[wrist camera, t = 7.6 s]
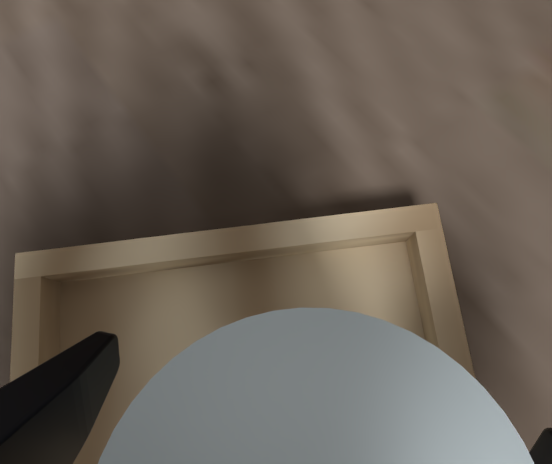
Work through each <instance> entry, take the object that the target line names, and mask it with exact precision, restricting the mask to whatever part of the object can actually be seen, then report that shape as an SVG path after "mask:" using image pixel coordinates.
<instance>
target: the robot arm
mask: <svg viewBox="0 0 552 464" xmlns="http://www.w3.org/2000/svg"><path fill="white" fill-rule="evenodd" d="M119 365H120V355H119V342H118V337H117V335H116V334H113V333H108V332H104V331H98V332H95V333H93V334H91V335H90V336H88V337H86V338H85V339H83V340H81V341H80V342H78V343H76V344H74V345H73V346H71V347H69V348H68V349H66V350H64V351H63V352H61V353H59V354H57V355H56V356H54V357H52V358H51V359H49V360H47V361H45V362H44V363H42V364H40V365H39V366H37V367H35V368H34V369H32V370H30V371H28V372H27V373H25V374H23V375H22V376H20V377H18V378H16V379H15V380H13V381H11V382H10V383H8V384H6V385H5V386H3V387H1V388H0V464H73V463H74V461H75V459H76V458H77V456H78V454H79V452H80V451H81V449H82V447H83V445H84V444H85V442H86V440H87V438H88V436H89V434H90V432H91V430H92V428H93V426H94V423H95V421H96V419H97V417H98V415H99V412H100V410H101V408H102V406H103V403H104V401H105V399H106V397H107V394H108V392H109V390H110V388H111V386H112V383H113V381H114V379H115V377H116V374H117V372H118V369H119ZM529 454H530V456H531V458H532V460H533V462H534V464H552V428H546V429H544V430H543V432H542V433H541V435H540V436H539V438H538V439H537V441H536V442H535V444H534V446H533V447H532V449H531V450H530V452H529Z"/></svg>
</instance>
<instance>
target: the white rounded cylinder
mask: <svg viewBox="0 0 552 464" xmlns="http://www.w3.org/2000/svg"><path fill="white" fill-rule="evenodd" d="M98 464H534V462H533V460H532V458H531V456H530V454H529V452H528V450H527V448H526V446H525V444H524V442H523V440H522V439H521V437H520V436H519V434H518V432H517V431H516V429H515V428H514V426H513V425H512V423H511V422H510V420H509V418H508V417H507V415H506V414H505V412H504V411H503V410H502V409H501V408H500V406H499V405H498V404H497V403H496V401H495V400H494V399H493V398H492V397H491V395H490V394H489V393H488V392H487V390H486V389H485V388H484V387H483V386H482V385H481V384H480V383H479V382H478V381H477V380H476V379H475V378H474V377H473V376H472V375H471V374H470V373H469V372H468V371H466V370H465V369H464V368H463V367H462V366H461V365H460V364H459V363H457V362H456V361H455V360H453V359H452V358H451V357H449V356H448V355H447V354H446V353H444V352H443V351H442V350H440V349H439V348H438V347H436V346H435V345H433V344H431V343H429V342H428V341H426V340H424V339H423V338H421V337H419V336H417V335H416V334H414V333H412V332H410V331H408V330H406V329H404V328H401V327H399V326H397V325H394V324H392V323H390V322H387V321H385V320H382V319H378V318H375V317H371V316H368V315H364V314H361V313H357V312H352V311H345V310H338V309H332V308H292V309H283V310H275V311H270V312H266V313H262V314H258V315H254V316H250V317H246V318H244V319H241V320H239V321H236V322H234V323H231V324H228V325H226V326H223V327H221V328H219V329H217V330H215V331H214V332H212V333H210V334H208V335H206V336H204V337H203V338H201V339H199V340H197V341H196V342H194V343H193V344H191V345H190V346H189V347H187V348H186V349H185V350H183V351H182V352H181V353H179V354H178V355H176V356H175V357H174V358H172V359H171V360H170V361H169V362H168V363H167V364H166V365H165V366H164V367H163V368H162V369H161V370H160V371H159V372H158V373H156V374H155V375H154V376H153V377H152V378H151V379H150V380H149V382H148V383H147V384H146V385H145V386H144V388H143V389H142V390H141V391H140V392H139V394H138V395H137V396H136V397H135V399H134V400H133V401H132V402H131V404H130V405H129V407H128V408H127V410H126V411H125V413H124V414H123V416H122V418H121V419H120V421H119V422H118V424H117V425H116V427H115V428H114V430H113V432H112V434H111V436H110V438H109V440H108V442H107V444H106V447H105V449H104V451H103V453H102V455H101V457H100V459H99V462H98Z"/></svg>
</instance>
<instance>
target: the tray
mask: <svg viewBox="0 0 552 464" xmlns="http://www.w3.org/2000/svg"><path fill="white" fill-rule="evenodd" d="M292 308H332V309H338V310H345V311H352V312H357V313H361V314H364V315H368V316H371V317H375V318H378V319H382V320H385V321H387V322H390V323H392V324H394V325H397V326H399V327H401V328H404V329H406V330H408V331H410V332H412V333H414V334H416V335H417V336H419V337H421V338H423V339H424V340H426V341H428V342H429V343H431V344H433V345H435V346H436V347H438V348H439V349H440V350H442V351H443V352H444V353H446V354H447V355H448V356H449V357H451V358H452V359H453V360H455V361H456V362H457V363H459V364H460V365H461V366H462V367H463V368H464V369H465V370H466V371H468V372H469V373H470V374H471V375H472V376H473V377H474V378H475V374H474V370H473V365H472V360H471V356H470V351H469V347H468V342H467V338H466V333H465V329H464V324H463V320H462V315H461V310H460V306H459V301H458V297H457V292H456V288H455V283H454V279H453V274H452V270H451V265H450V260H449V256H448V251H447V247H446V242H445V238H444V233H443V229H442V224H441V220H440V215H439V210H438V206H437V203H431V204H423V205H414V206H406V207H398V208H389V209H381V210H373V211H364V212H356V213H348V214H339V215H331V216H322V217H314V218H306V219H297V220H289V221H281V222H272V223H264V224H256V225H247V226H239V227H231V228H222V229H214V230H206V231H197V232H189V233H180V234H172V235H164V236H155V237H147V238H139V239H130V240H122V241H114V242H105V243H97V244H89V245H80V246H72V247H64V248H55V249H47V250H38V251H30V252H22V253H15V271H14V294H13V318H12V342H11V365H10V382H11V381H13V380H15V379H16V378H18V377H20V376H22V375H23V374H25V373H27V372H28V371H30V370H32V369H34V368H35V367H37V366H39V365H40V364H42V363H44V362H45V361H47V360H49V359H51V358H52V357H54V356H56V355H57V354H59V353H61V352H63V351H64V350H66V349H68V348H69V347H71V346H73V345H74V344H76V343H78V342H80V341H81V340H83V339H85V338H86V337H88V336H90V335H91V334H93V333H95V332H98V331H104V332H108V333H113V334H116V335H117V337H118V342H119V355H120V365H119V369H118V372H117V374H116V377H115V379H114V381H113V383H112V386H111V388H110V390H109V392H108V394H107V397H106V399H105V401H104V403H103V406H102V408H101V410H100V412H99V415H98V417H97V419H96V421H95V423H94V426H93V428H92V430H91V432H90V434H89V436H88V438H87V440H86V442H85V444H84V445H83V447H82V449H81V451H80V452H79V454H78V456H77V458H76V459H75V461H74V463H73V464H98V462H99V459H100V457H101V455H102V453H103V451H104V449H105V447H106V444H107V442H108V440H109V438H110V436H111V434H112V432H113V430H114V428H115V427H116V425H117V424H118V422H119V421H120V419H121V418H122V416H123V414H124V413H125V411H126V410H127V408H128V407H129V405H130V404H131V402H132V401H133V400H134V399H135V397H136V396H137V395H138V394H139V392H140V391H141V390H142V389H143V388H144V386H145V385H146V384H147V383H148V382H149V380H150V379H151V378H152V377H153V376H154V375H155V374H156V373H158V372H159V371H160V370H161V369H162V368H163V367H164V366H165V365H166V364H167V363H168V362H169V361H170V360H171V359H172V358H174V357H175V356H176V355H178V354H179V353H181V352H182V351H183V350H185V349H186V348H187V347H189V346H190V345H191V344H193V343H194V342H196V341H197V340H199V339H201V338H203V337H204V336H206V335H208V334H210V333H212V332H214V331H215V330H217V329H219V328H221V327H223V326H226V325H228V324H231V323H234V322H236V321H239V320H241V319H244V318H246V317H250V316H254V315H258V314H262V313H266V312H270V311H275V310H283V309H292Z"/></svg>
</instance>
